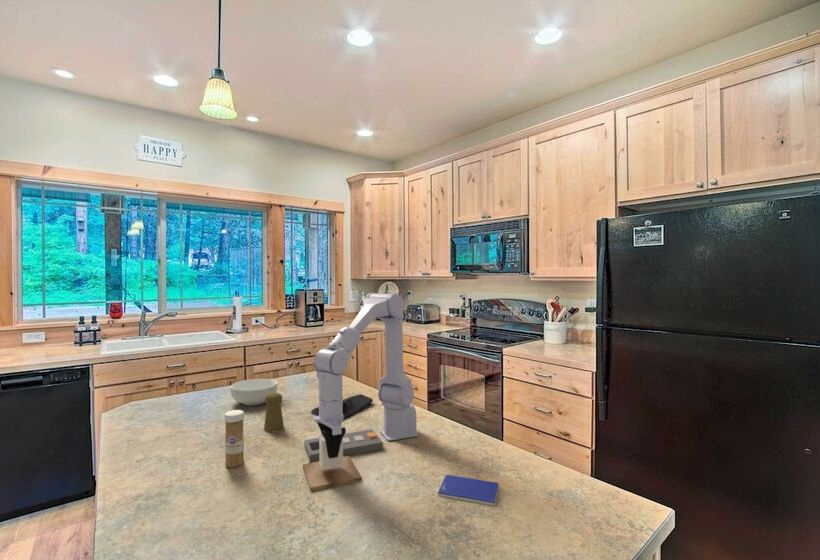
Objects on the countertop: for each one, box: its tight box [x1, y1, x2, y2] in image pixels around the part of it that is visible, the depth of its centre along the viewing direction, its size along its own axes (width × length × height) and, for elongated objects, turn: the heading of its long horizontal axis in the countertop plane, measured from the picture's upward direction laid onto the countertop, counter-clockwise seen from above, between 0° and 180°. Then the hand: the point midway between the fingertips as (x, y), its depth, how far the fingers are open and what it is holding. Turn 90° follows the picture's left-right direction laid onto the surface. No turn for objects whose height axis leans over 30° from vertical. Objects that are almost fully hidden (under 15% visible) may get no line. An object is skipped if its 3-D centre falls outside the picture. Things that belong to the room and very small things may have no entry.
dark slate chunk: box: [310, 394, 374, 420], centre depth 145 cm, size 15×22×5 cm
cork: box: [263, 392, 285, 433], centre depth 127 cm, size 6×6×11 cm
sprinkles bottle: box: [224, 409, 245, 468], centre depth 104 cm, size 5×5×14 cm
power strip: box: [304, 429, 384, 463], centre depth 113 cm, size 20×10×3 cm, turn 113°
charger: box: [318, 434, 344, 470], centre depth 98 cm, size 5×4×8 cm
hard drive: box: [437, 474, 500, 506], centre depth 91 cm, size 2×8×12 cm
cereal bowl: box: [230, 378, 278, 406], centre depth 153 cm, size 17×17×7 cm
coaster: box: [302, 455, 363, 492], centre depth 98 cm, size 12×12×1 cm
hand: (331, 453), depth 98 cm, fingers closed on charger, 4 cm apart
